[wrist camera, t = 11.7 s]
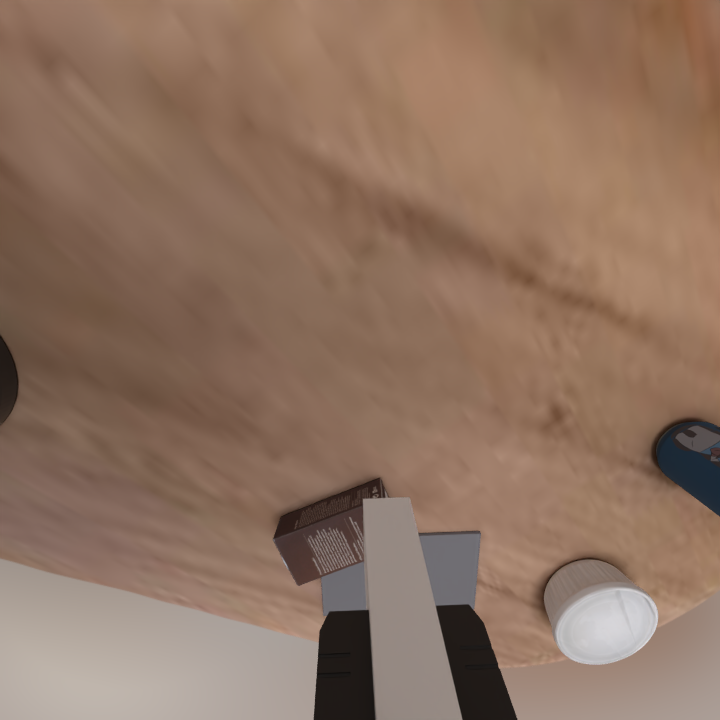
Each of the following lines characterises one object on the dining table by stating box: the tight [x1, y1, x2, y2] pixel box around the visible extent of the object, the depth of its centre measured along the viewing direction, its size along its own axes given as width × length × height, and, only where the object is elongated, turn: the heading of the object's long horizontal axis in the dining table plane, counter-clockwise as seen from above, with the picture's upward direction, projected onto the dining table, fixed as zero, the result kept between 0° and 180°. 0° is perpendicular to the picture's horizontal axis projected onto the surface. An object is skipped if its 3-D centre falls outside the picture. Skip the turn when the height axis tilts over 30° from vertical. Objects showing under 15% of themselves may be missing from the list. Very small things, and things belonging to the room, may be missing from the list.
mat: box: [321, 531, 481, 616], centre depth 47 cm, size 18×11×1 cm, turn 91°
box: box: [273, 478, 389, 586], centre depth 42 cm, size 6×4×12 cm
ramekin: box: [544, 559, 658, 665], centre depth 46 cm, size 11×11×5 cm
